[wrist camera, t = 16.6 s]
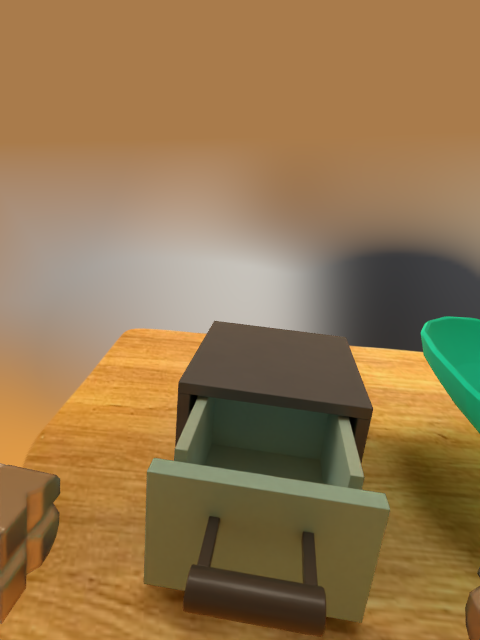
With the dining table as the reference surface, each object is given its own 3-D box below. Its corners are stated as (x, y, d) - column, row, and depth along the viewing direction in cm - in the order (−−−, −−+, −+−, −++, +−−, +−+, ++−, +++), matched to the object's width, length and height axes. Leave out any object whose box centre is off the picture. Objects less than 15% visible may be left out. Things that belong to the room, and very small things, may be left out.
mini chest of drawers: (348, 521, 31) (373, 408, 28) (172, 493, 33) (178, 381, 30) (330, 419, 45) (345, 337, 42) (207, 402, 47) (214, 320, 44)
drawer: (380, 732, 18) (420, 602, 16) (108, 678, 19) (107, 547, 17) (336, 468, 36) (351, 387, 33) (194, 447, 37) (200, 366, 34)
